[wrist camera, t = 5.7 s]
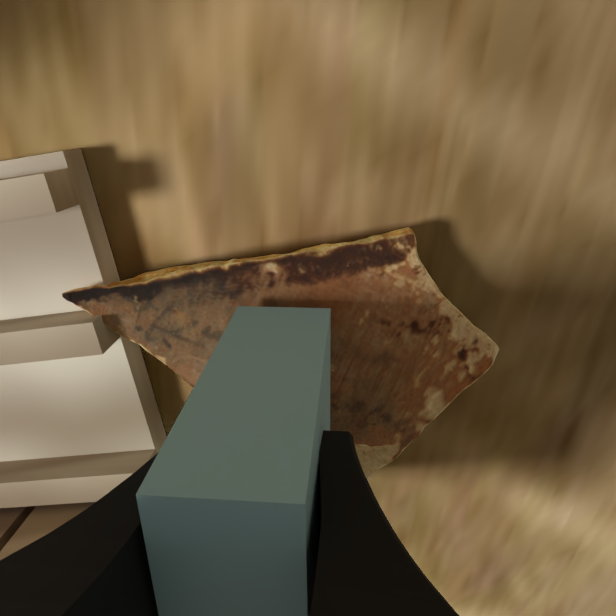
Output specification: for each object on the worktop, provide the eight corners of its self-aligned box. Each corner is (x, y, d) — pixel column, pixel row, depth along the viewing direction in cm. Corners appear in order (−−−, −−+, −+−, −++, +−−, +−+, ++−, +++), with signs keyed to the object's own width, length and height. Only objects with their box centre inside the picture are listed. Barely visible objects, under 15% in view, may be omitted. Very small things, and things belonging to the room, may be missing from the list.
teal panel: (252, 505, 17) (186, 764, 10) (237, 306, 14) (135, 494, 8) (329, 509, 17) (311, 777, 10) (330, 308, 14) (305, 503, 7)
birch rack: (-187, 192, 16) (-266, 206, 14) (80, 148, 15) (37, 154, 13) (-10, 557, 21) (-49, 605, 19) (199, 546, 20) (181, 596, 18)
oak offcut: (50, 488, 18) (-27, 585, 15) (151, 481, 18) (97, 579, 14) (67, 532, 19) (-2, 635, 15) (165, 526, 19) (118, 631, 15)
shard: (83, 281, 16) (53, 299, 15) (222, 70, 14) (207, 62, 12) (350, 471, 18) (351, 507, 16) (511, 310, 16) (532, 331, 14)
